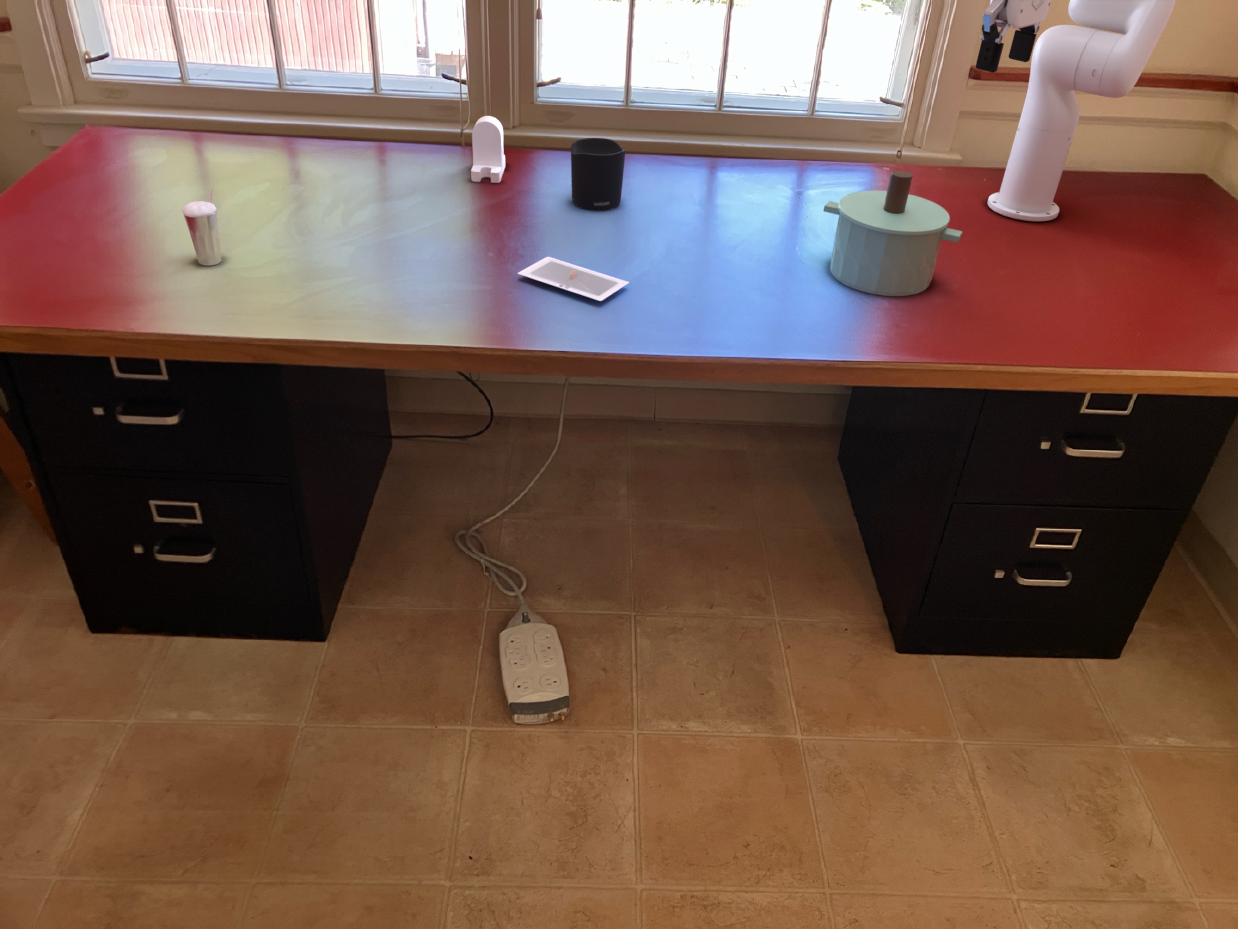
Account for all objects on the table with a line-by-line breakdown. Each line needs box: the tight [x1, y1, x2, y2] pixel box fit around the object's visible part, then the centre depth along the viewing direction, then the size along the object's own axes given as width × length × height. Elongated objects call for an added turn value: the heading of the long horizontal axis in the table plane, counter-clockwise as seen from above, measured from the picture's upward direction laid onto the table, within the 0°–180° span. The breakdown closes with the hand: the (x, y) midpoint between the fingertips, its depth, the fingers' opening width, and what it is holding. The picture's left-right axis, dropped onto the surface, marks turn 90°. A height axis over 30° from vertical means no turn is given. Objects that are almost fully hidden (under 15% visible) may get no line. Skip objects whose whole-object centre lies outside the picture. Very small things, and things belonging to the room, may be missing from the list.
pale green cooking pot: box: [823, 200, 963, 297], centre depth 151 cm, size 16×21×10 cm
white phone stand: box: [470, 115, 506, 184], centre depth 179 cm, size 5×10×10 cm, turn 179°
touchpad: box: [516, 255, 630, 302], centre depth 145 cm, size 8×15×2 cm, turn 58°
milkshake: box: [181, 189, 222, 267], centre depth 143 cm, size 4×5×10 cm
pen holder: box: [570, 137, 626, 212], centre depth 170 cm, size 9×9×10 cm
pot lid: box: [838, 169, 951, 235], centre depth 146 cm, size 17×17×7 cm
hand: (1002, 64), depth 144 cm, fingers open, 9 cm apart
